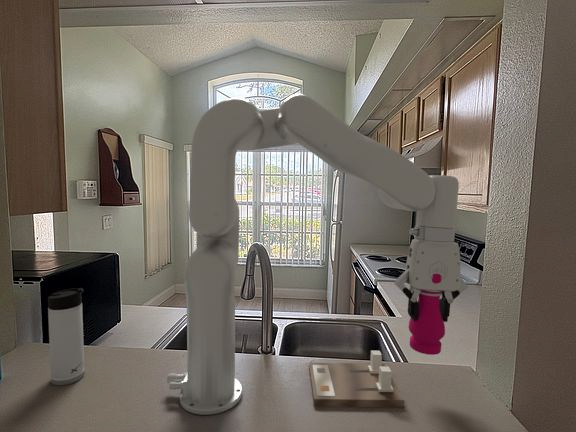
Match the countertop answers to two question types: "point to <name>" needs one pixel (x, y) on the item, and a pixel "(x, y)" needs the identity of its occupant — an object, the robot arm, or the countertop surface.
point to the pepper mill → (428, 322)
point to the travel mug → (66, 336)
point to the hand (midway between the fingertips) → (427, 318)
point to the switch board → (350, 386)
